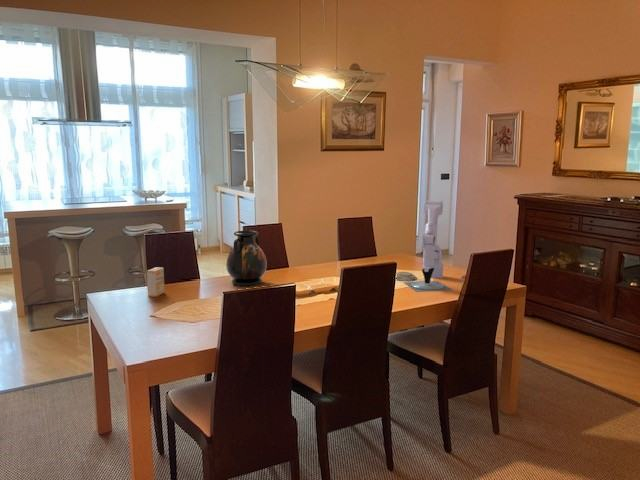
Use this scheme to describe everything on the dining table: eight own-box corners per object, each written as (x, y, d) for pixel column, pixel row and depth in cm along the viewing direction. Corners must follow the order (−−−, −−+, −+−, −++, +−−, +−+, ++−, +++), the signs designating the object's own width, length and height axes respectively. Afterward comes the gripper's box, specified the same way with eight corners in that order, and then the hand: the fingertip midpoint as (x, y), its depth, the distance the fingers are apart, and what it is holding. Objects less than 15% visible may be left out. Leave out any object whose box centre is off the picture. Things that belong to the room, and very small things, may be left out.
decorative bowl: (422, 279, 288) (399, 275, 297) (422, 272, 287) (399, 268, 296) (409, 284, 276) (385, 280, 285) (409, 278, 275) (385, 273, 285)
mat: (437, 281, 281) (437, 280, 281) (453, 290, 261) (453, 290, 261) (402, 283, 277) (402, 282, 277) (416, 292, 258) (416, 291, 258)
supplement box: (156, 297, 248) (155, 270, 246) (147, 296, 249) (146, 270, 247) (165, 292, 256) (164, 267, 254) (156, 292, 257) (155, 266, 255)
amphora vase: (249, 290, 261) (248, 236, 256) (218, 285, 272) (216, 232, 267) (275, 281, 279) (274, 231, 274) (244, 277, 290) (243, 228, 286)
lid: (413, 281, 280) (414, 270, 279) (445, 283, 274) (446, 273, 273) (408, 288, 264) (408, 277, 263) (442, 291, 258) (442, 280, 257)
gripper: (434, 260, 258) (433, 286, 261) (438, 255, 272) (437, 279, 274) (420, 259, 261) (419, 285, 263) (424, 254, 274) (423, 278, 276)
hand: (427, 282), depth 269 cm, fingers closed on lid, 3 cm apart
